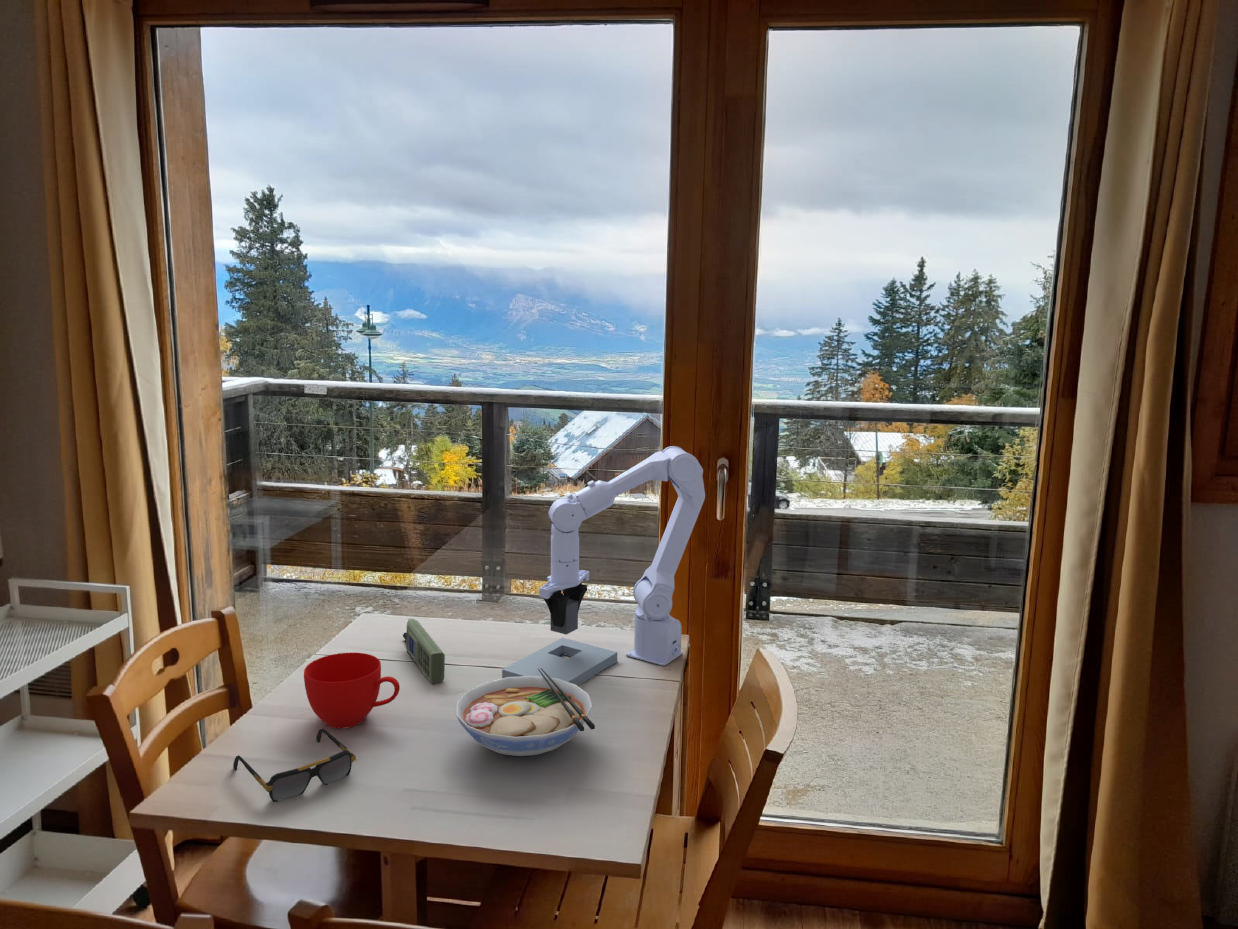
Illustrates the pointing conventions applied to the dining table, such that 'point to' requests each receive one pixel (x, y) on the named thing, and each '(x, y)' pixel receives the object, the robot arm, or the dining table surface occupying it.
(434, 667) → the handheld radio
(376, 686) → the ceramic cup
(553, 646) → the socket plate
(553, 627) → the block
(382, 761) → the dining table surface
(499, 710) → the ramen bowl
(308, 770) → the sunglasses
